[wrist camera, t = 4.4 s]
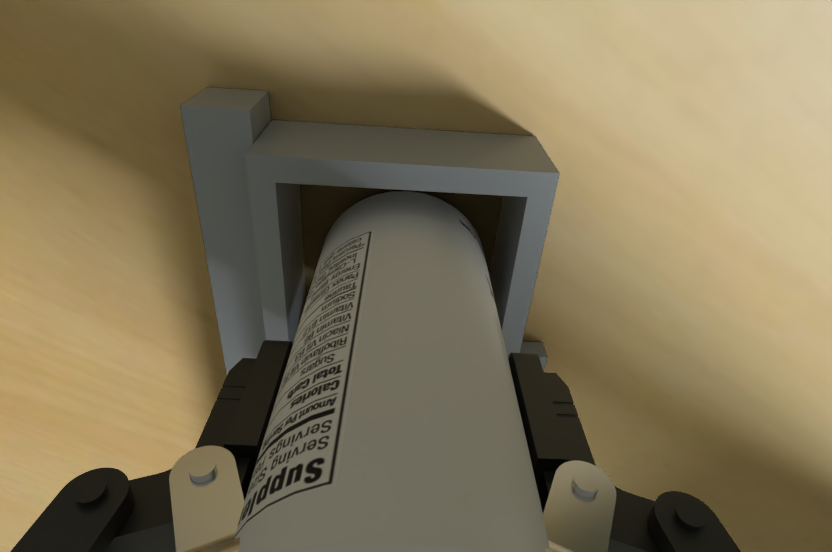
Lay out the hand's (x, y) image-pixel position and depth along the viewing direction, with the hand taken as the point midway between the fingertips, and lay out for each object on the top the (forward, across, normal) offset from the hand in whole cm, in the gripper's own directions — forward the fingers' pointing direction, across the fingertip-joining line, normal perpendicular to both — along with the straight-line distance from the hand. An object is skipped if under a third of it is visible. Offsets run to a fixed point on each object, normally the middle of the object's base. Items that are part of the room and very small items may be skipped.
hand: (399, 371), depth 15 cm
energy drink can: (+7, 0, 0) cm, 7 cm away
